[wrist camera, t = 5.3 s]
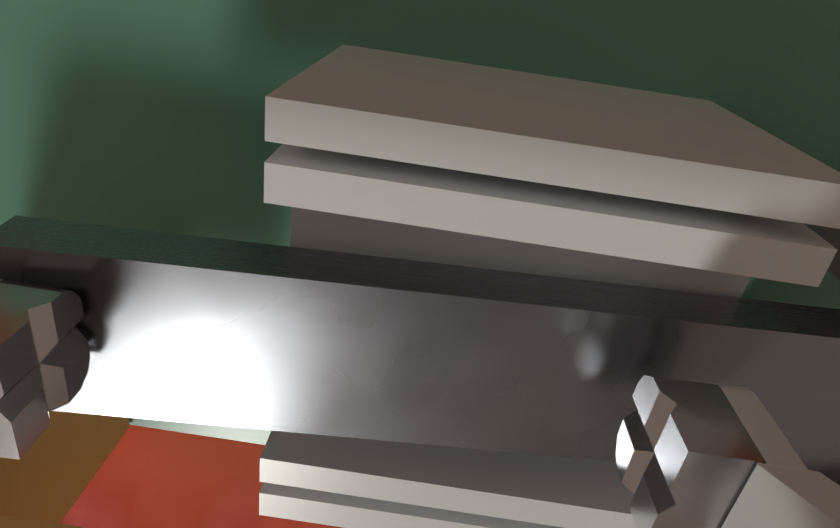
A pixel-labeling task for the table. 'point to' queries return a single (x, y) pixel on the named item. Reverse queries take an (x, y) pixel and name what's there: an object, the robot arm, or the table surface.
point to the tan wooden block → (56, 469)
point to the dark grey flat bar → (410, 343)
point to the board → (442, 175)
